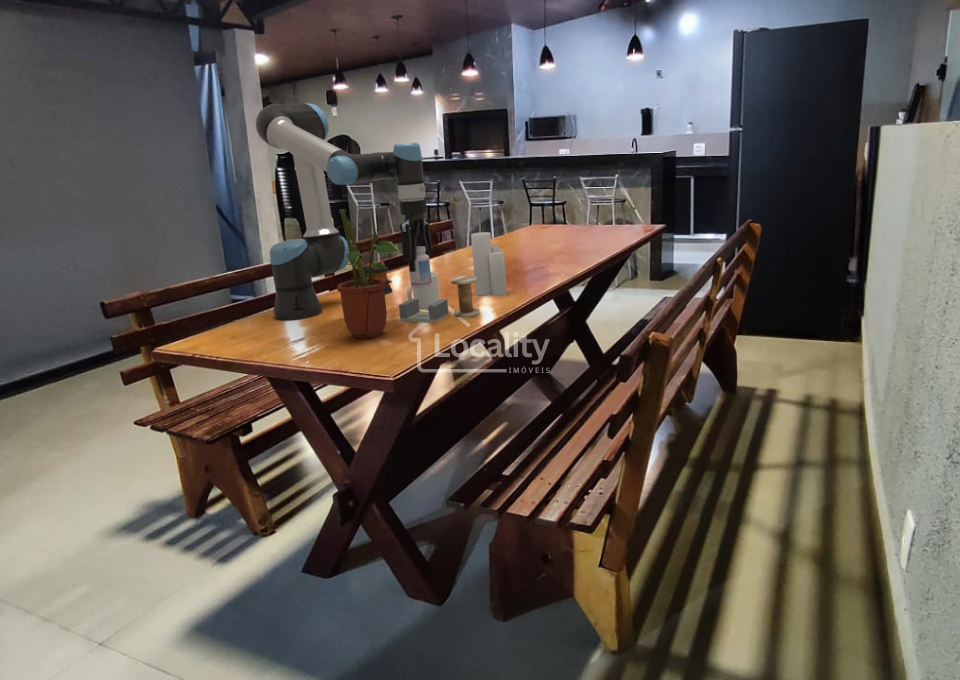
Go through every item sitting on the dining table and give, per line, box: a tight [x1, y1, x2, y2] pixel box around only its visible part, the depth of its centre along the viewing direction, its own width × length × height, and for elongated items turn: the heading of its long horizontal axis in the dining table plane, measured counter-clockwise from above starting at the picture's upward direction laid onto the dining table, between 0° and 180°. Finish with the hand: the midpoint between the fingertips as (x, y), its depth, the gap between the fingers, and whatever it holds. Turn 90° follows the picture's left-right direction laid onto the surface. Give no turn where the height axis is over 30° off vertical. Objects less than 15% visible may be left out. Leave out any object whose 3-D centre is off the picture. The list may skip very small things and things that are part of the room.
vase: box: [470, 231, 508, 297], centre depth 222 cm, size 11×7×20 cm, turn 66°
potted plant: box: [336, 208, 401, 340], centre depth 183 cm, size 17×16×35 cm
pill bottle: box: [407, 245, 431, 287], centre depth 195 cm, size 6×6×11 cm
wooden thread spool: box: [450, 275, 480, 318], centre depth 199 cm, size 8×8×11 cm
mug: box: [406, 271, 441, 310], centre depth 211 cm, size 12×8×10 cm
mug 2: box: [361, 260, 393, 296], centre depth 239 cm, size 13×10×12 cm
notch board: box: [398, 297, 450, 323], centre depth 199 cm, size 12×8×5 cm, turn 66°
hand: (421, 279), depth 196 cm, fingers closed on pill bottle, 6 cm apart
